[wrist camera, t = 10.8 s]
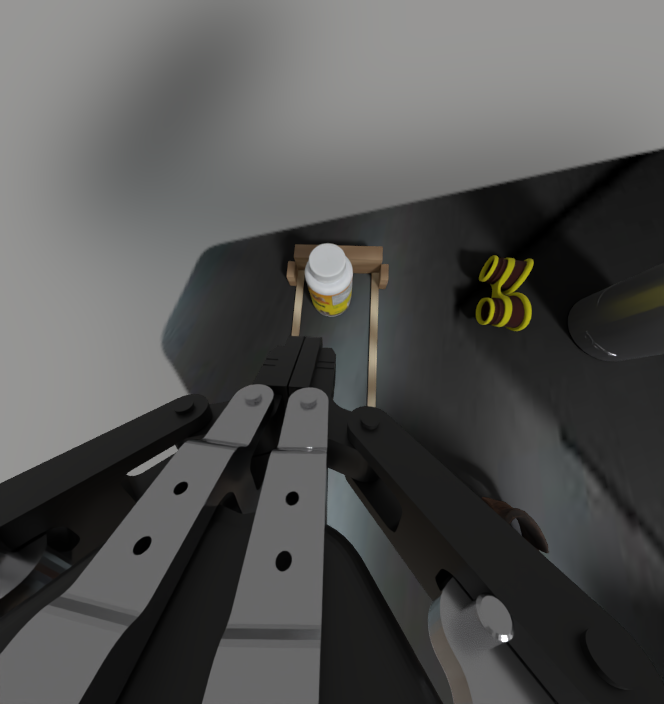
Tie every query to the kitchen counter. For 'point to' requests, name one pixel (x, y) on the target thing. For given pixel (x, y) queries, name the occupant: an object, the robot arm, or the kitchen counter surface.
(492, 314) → the opera glasses
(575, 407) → the kitchen counter surface
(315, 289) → the supplement bottle
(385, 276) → the bay
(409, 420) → the kitchen counter surface
